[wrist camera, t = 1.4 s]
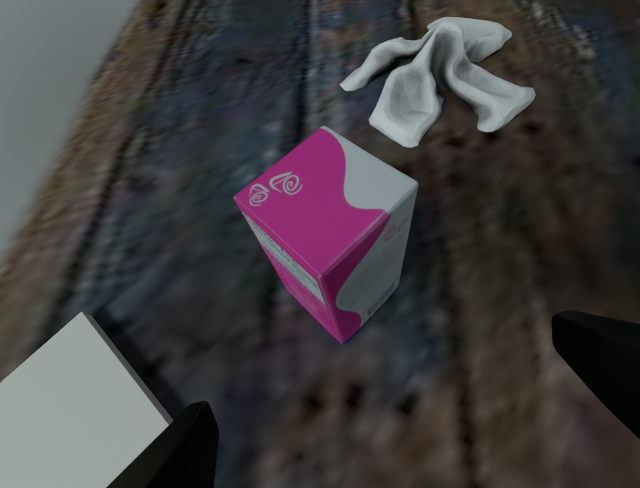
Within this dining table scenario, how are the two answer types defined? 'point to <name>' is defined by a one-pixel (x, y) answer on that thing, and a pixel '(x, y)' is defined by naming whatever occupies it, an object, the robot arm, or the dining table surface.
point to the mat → (74, 413)
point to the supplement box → (333, 228)
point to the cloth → (439, 79)
